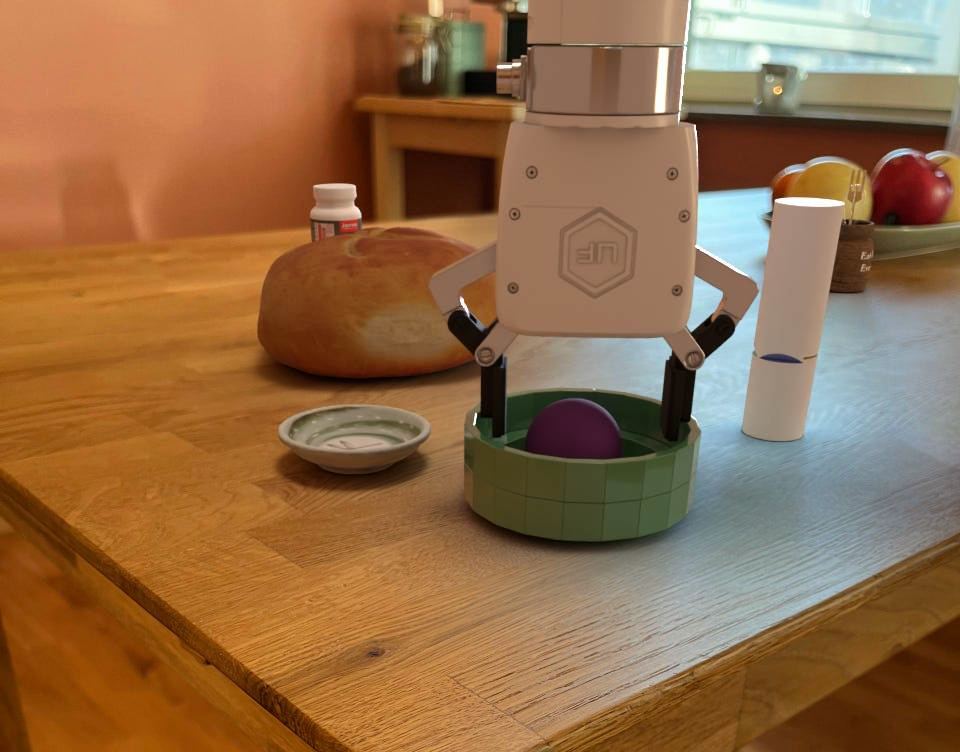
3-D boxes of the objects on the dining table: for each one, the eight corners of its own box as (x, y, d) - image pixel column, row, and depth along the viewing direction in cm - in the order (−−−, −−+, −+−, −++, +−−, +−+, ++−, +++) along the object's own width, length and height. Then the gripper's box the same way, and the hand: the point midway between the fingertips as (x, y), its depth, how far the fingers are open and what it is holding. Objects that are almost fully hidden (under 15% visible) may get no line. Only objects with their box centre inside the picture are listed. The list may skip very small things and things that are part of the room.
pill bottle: (351, 286, 113) (346, 190, 108) (305, 283, 115) (298, 187, 110) (372, 277, 118) (368, 184, 113) (327, 274, 119) (322, 181, 114)
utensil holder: (811, 291, 114) (831, 174, 108) (812, 280, 119) (831, 168, 113) (866, 295, 112) (890, 176, 106) (865, 284, 118) (887, 170, 112)
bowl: (675, 467, 65) (684, 390, 63) (704, 555, 54) (716, 466, 52) (471, 461, 66) (471, 385, 63) (457, 547, 55) (457, 459, 52)
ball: (622, 470, 62) (615, 380, 59) (629, 506, 57) (622, 410, 54) (530, 481, 62) (519, 392, 60) (530, 518, 58) (518, 422, 55)
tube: (779, 418, 74) (816, 196, 67) (816, 437, 71) (859, 205, 63) (729, 425, 73) (761, 198, 65) (764, 444, 69) (802, 207, 62)
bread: (198, 347, 90) (183, 226, 85) (410, 311, 103) (408, 204, 98) (340, 409, 75) (332, 267, 70) (568, 358, 88) (574, 235, 83)
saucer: (462, 460, 66) (462, 424, 65) (350, 502, 60) (348, 463, 59) (361, 427, 72) (359, 393, 70) (249, 462, 65) (245, 425, 64)
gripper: (417, 92, 46) (425, 451, 55) (801, 95, 46) (748, 458, 54) (432, 86, 53) (437, 408, 61) (768, 88, 52) (726, 414, 61)
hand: (583, 431), depth 58 cm, fingers open, 9 cm apart
